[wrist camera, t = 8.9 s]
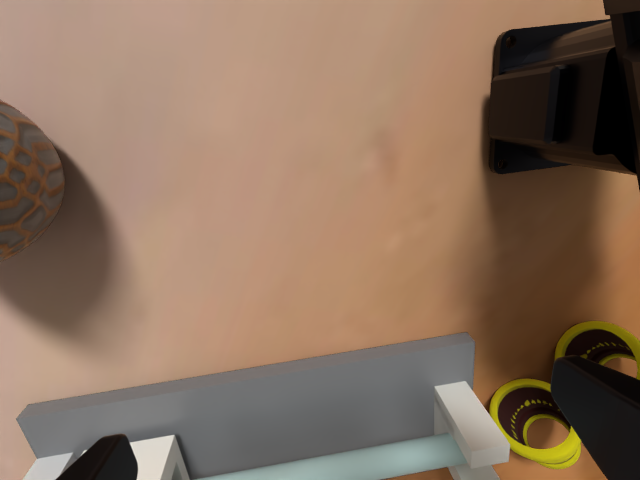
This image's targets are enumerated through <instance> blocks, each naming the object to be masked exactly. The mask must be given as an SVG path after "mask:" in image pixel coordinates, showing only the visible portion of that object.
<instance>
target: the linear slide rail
mask: <svg viewBox="0 0 640 480" xmlns="http://www.w3.org/2000/svg"><path fill="white" fill-rule="evenodd" d="M474 355H475V341H474V340H473V339H472V338H471V337H470V335H469V334H468V333H467V332H465V333H459V334H453V335H447V336H441V337H435V338H429V339H423V340H417V341H410V342H404V343H398V344H392V345H386V346H380V347H374V348H368V349H362V350H356V351H350V352H344V353H338V354H332V355H326V356H320V357H314V358H308V359H302V360H296V361H289V362H283V363H277V364H271V365H265V366H259V367H253V368H247V369H241V370H235V371H229V372H223V373H217V374H211V375H205V376H199V377H193V378H187V379H181V380H175V381H168V382H162V383H156V384H150V385H144V386H138V387H132V388H126V389H120V390H114V391H108V392H102V393H96V394H90V395H84V396H78V397H72V398H66V399H60V400H53V401H47V402H41V403H35V404H29V405H27V407H26V408H25V409H24V410H23V411H22V412H21V414H20V415H19V416H18V417H17V418H16V420H17V422H18V424H19V426H20V427H21V429H22V431H23V433H24V435H25V437H26V439H27V441H28V442H29V444H30V446H31V448H32V450H33V452H34V454H35V456H36V458H37V460H36V461H35V462H34V464H33V465H32V467H31V468H30V470H29V471H28V473H27V474H26V475H25V477H24V478H23V480H55V479H56V478H58V477H59V476H60V475H61V474H62V473H63V472H64V471H65V470H66V469H67V468H68V467H69V466H71V465H72V464H73V463H74V462H75V461H76V460H77V459H78V458H79V457H80V456H81V455H82V453H83V451H84V450H88V449H89V448H90V447H91V446H92V445H93V444H94V443H95V442H97V441H98V440H99V439H100V438H102V437H104V436H109V435H115V434H120V433H121V434H125V435H126V436H127V438H128V440H129V442H136V441H141V440H147V439H153V438H158V437H164V436H170V435H175V437H176V440H177V443H178V446H179V449H180V452H181V455H182V458H183V461H184V464H185V467H186V470H187V473H188V476H189V479H190V480H383V479H388V478H393V477H399V476H404V475H409V474H414V473H420V472H425V471H430V470H435V469H440V468H446V467H448V469H449V471H450V473H451V475H452V477H453V479H454V480H500V479H499V477H498V475H497V474H496V472H495V470H494V469H493V467H492V465H494V464H499V463H504V462H508V461H509V451H510V443H509V442H508V441H507V439H506V438H505V436H504V435H503V433H502V432H501V431H500V429H499V428H498V426H497V425H496V423H495V422H494V421H493V419H492V418H491V416H490V415H489V414H488V412H487V411H486V409H485V408H484V406H483V405H482V404H481V402H480V401H479V399H478V398H477V397H476V395H475V394H474V392H473V376H474Z"/></svg>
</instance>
